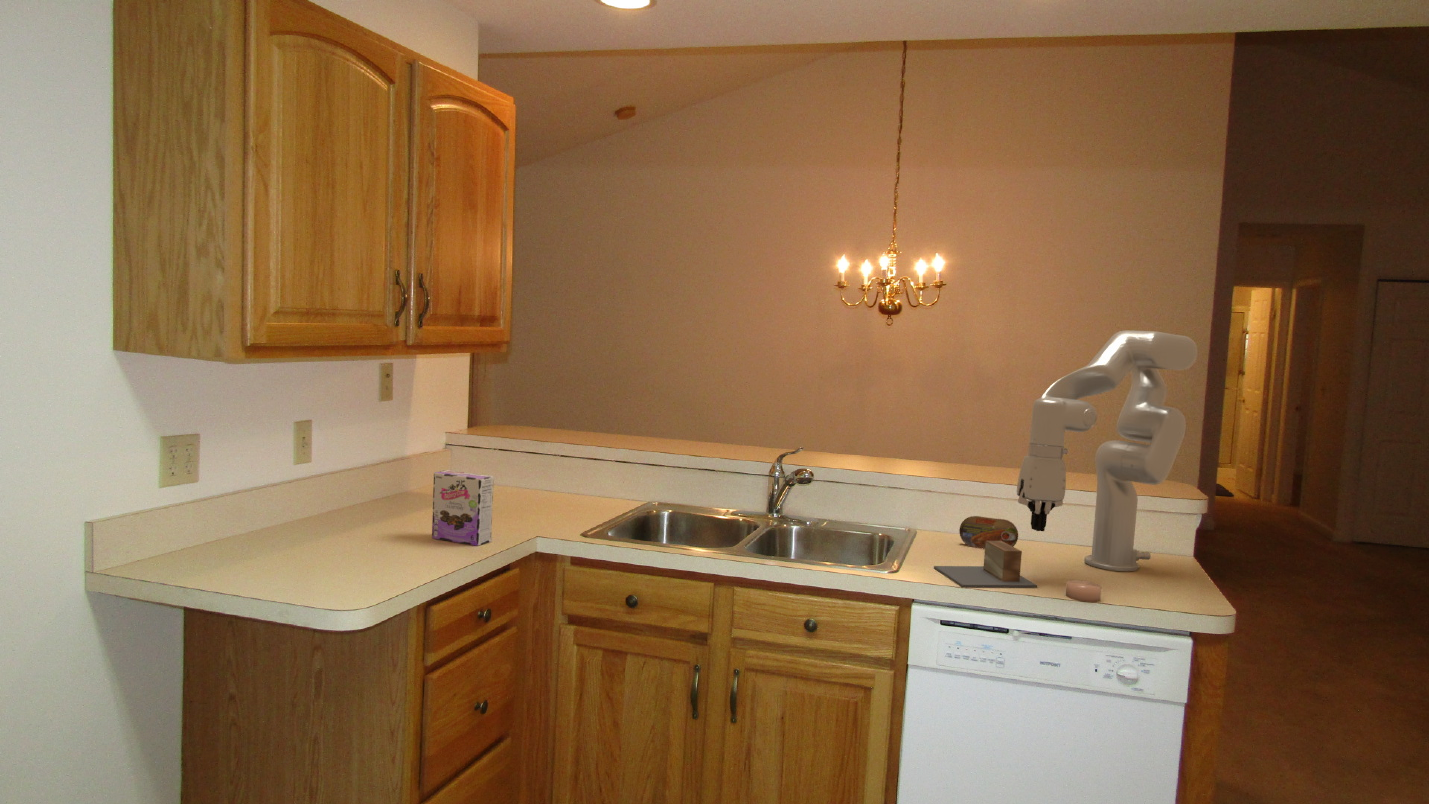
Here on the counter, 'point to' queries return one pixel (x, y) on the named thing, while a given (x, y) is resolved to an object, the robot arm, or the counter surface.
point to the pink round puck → (1083, 591)
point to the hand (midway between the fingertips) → (1037, 529)
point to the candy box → (462, 507)
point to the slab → (1002, 560)
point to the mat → (980, 578)
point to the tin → (987, 531)
